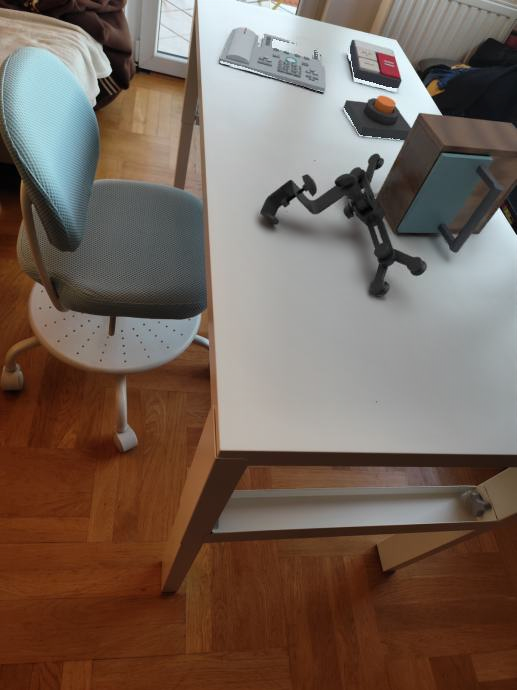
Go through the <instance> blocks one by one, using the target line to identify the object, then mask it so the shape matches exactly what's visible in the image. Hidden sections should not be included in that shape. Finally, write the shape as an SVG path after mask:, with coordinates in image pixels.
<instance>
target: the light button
mask: <svg viewBox="0 0 517 690" xmlns="http://www.w3.org/2000/svg"><path fill="white" fill-rule="evenodd" d="M396 104H397V103H396V102H395V100H394V99H392V98H390V97H388V96H386V95H378V96H377V97H376V102H375V104H374V107H375V108H376V109H377V110H379V111H381V112H383V113H388V114H391V113H392V112H393V109H394V107H395V106H396Z"/></svg>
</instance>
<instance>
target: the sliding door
mask: <svg viewBox="0 0 517 690" xmlns="http://www.w3.org/2000/svg"><path fill="white" fill-rule="evenodd" d="M493 161H494V160H493V158H492V157H486V156H473V155H461V154H449V153H441V155H440V157H439V158H438V160H437V162H436V163H435V165H434V167H433V169H432V170H431V172H430V174H429V175H428V177H427V179H426V181H425V182H424V184H423V186H422V187H421V189H420V191H419V193H418V194H417V196H416V198H415V199H414V201H413V203H412V205H411V206H410V208H409V210H408V212H407V213H406V215H405V217H404V218H403V220H402V222H401V224H400V225H399V227H398V229H397V230H398V232H404V233H405V234H407V233H409V234H440V235H441V236H442V238H443V239H444V241H445V242H446V244H447V246H448V249H449V251H451V252H452V253H454V254H457V253H459V252H460V250H461V249H462V248H463V246H464V244H466V242H468V241H467V240H469V238H470V237H471V235H472V233H473V231H474V230H475V228H476V227H477V226H478V224H479V223H480V222H481V220H482V219H483V218H484V216H485V215H486V214H487V212H488V211H489V210H490V208H491V207H492V206H493V204H494V203H495V202H496V200H497V199H498V198H499V196H500V195H501V193H502V192H503V191H504V187H503V186H502V185H500V184H499V183H498V182H497V180H496V179H495V178H494V177H493V175H492V174H491V173H490V172H489V171H488V168H489V166H490V165H491V164H492V162H493ZM481 178H482V180H483V181H484V182H485V183H486V185H487V186H488V187H489V189H490V191H489V192H488V193H487V195H486V196H485V198H484V199H483V200H482V202H481V203H480V205H479V206H478V207H477V209H476V210H475V212H474V213H473V214H472V216H471V217H470V219H469V220H468V221H467V223H466V224H465V226H464V227H463V228H462V230H461V231H460V233H457V235H456V237H455V236H454V234H453V233H451V232H450V230H449V229H448V226H449V225H450V223H451V222H452V221H453V219H454V218H455V216H456V215H457V213H458V212H459V210H460V209H461V207H462V206H463V204H464V203H465V202H466V200H467V199H468V197H469V196H470V194H471V193H472V191H473V190H474V188H475V187H476V185H477V184H478V183H479V181H480V180H481Z"/></svg>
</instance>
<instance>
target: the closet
mask: <svg viewBox="0 0 517 690" xmlns="http://www.w3.org/2000/svg"><path fill="white" fill-rule="evenodd" d="M441 153H449V154H461V155H473V156H486V157H492V158H493V160H494V161H493V162H492V164H491V165H490V166H489V168H488V171H489V172H490V173H491V174H492V175H493V177H494V178H495V179H496V180H497V182H498V183H499V184H500V185H502V186H503V187H504V191H503V192H502V193H501V195H500V196H499V198H498V199H497V200H496V202H495V203H494V204H493V206H492V207H491V208H490V210H489V211H488V212H487V214H486V215H485V216H484V218H483V219H482V220H481V222H480V223H479V224H478V226H477V227H476V228H475V230H474V231H473V233H472V234H474V235H479V234H481V232H482V231H483V230H484V228H486V226H487V224H488V223H489V222H490V221H491V220H492V218H493V217H494V215H495V214H497V211H498V210H499V209H500V208H501V206H502V205H503V203H504V202H505V201H506V199H507V198H508V197H509V195H510V194H511V193H512V192H513V190H514V189H515V187H516V186H517V127H516V126H515V125H514V124H513V123H512V122H506V121H496V120H487V119H479V118H478V119H477V118H469V117H462V116H461V117H460V116H452V115H442V114H433V113H426V112H418V114H417V116H416V118H415V120H414V122H413V124H412V126H411V130H410V132H409V134H408V136H407V138H406V140H405V141H403V144H402V145H401V148H400V150H399V151H398V154H397V156H396V157H395V160H394V161H393V164H392V166H391V167H390V170H389V171H388V173H387V176H386V177H385V179H384V182H383V183H382V185H381V187H380V188H379V191H378V194H377V195H376V197H375V199H376V200H377V201H378V202H379V204H380V205H381V207H382V209H383V210H384V211H385V216H384V219H385V220H386V222H387V223H388V226H389V227H390V229H391V230H392V232H393V233H395V234H397V233H399V234H403V233H404V232H398V230H397V229H398V227H399V225H400V224H401V222H402V220H403V218H404V217H405V215H406V213H407V212H408V210H409V208H410V206H411V205H412V203H413V201H414V199H415V198H416V196H417V194H418V193H419V191H420V189H421V187H422V186H423V184H424V182H425V181H426V179H427V177H428V175H429V174H430V172H431V170H432V169H433V167H434V165H435V163H436V162H437V160H438V158H439V157H440V155H441ZM489 191H490V189H489V187H488V186H487V185H486V183H485V182H484V181H483V180H482V178H481V180H480V181H479V183H478V184H477V185H476V187H475V188H474V190H473V191H472V193H471V194H470V196H469V197H468V199H467V200H466V202H465V203H464V204H463V206H462V207H461V209H460V210H459V212H458V213H457V215H456V216H455V218H454V219H453V221H452V222H451V223H450V225H449V226H448V229H449V230H450V232H451V233H452V234H459V233H460V231H461V230H462V228H463V227H464V226H465V224H466V223H467V221H468V220H469V219H470V217H471V216H472V214H473V213H474V212H475V210H476V209H477V207H478V206H479V205H480V203H481V202H482V200H483V199H484V198H485V196H486V195H487V193H488V192H489ZM472 234H471V235H472Z"/></svg>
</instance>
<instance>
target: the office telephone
mask: <svg viewBox="0 0 517 690" xmlns="http://www.w3.org/2000/svg"><path fill="white" fill-rule="evenodd" d="M263 35H264V38H263V37H262V43H261V46H258V43H259V35H258V34H256V32H254V30H252V29H250V28H247V27H236V28H233V29H232V30H231V31H230V33H229V37H228V38H227V40H226V42H225V44H224V47H223V49H222V52H221V54H220V57H219V60H220V61H223V62H227V63H230V64H234V65H237V66H242V67H245V68H248V69H251V70H254V71H257V72H260V73H263V74H265V75H268V76H272V77H275V78H277V79H281V80H285V81H287V82H292V83H294V84H298V85H301V86H305V87H308V88H312V89H315V90H320V91H323V92H324V93H325V90H326V85H327V84H326V67H325V66H324V65H323V64H322V59H321V60H319V59H318V54H316V53H318V52H315V51H317V50H314V57H313V55H312V59H310V58H308V57H305V56H304V57H303V56H300V55H298V54H292V53H289V52H287V51H282V50H279V49H277V48H272V41H273V39H276V40H279V41H283V42H287V43H290V42H289V41H290V40H289V39H286V38H283V37H279V36H276V35H272V34H268V33H263V34H262V36H263ZM285 39H286V40H285ZM293 42H294V41H293ZM293 42H291V43H292V44H295V43H293ZM296 45H297V44H296ZM316 55H317V56H316ZM219 60H218V61H219Z"/></svg>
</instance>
